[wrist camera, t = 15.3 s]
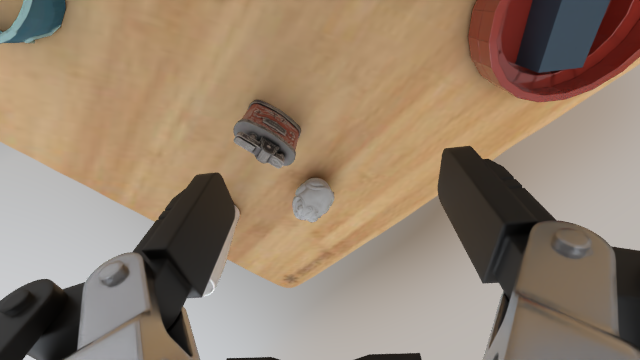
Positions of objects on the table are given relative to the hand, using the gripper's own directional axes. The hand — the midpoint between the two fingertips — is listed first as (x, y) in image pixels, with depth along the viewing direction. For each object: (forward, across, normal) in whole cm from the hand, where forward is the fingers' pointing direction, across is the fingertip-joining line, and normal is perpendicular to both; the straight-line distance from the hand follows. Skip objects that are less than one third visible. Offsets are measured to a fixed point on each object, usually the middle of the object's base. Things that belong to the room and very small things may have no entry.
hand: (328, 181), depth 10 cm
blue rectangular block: (+27, -24, 0) cm, 36 cm away
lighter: (+28, +9, +8) cm, 30 cm away
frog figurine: (+28, +5, +20) cm, 35 cm away
